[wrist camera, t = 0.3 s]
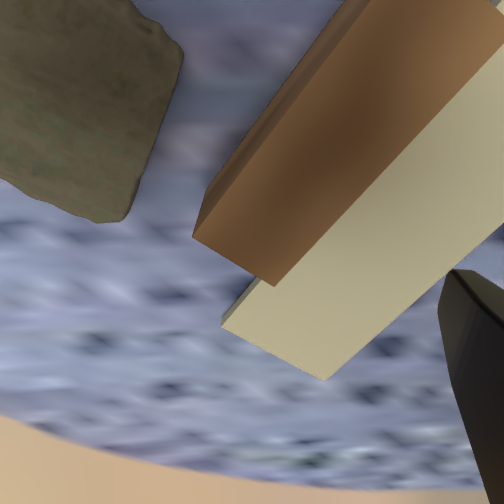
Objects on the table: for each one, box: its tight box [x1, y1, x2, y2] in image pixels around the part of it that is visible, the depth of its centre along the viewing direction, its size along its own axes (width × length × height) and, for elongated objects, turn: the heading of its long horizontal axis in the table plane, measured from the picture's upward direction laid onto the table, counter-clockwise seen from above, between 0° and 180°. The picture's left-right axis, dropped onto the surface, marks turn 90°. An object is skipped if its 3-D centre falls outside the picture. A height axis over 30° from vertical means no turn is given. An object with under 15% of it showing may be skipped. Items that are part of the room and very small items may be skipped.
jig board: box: [221, 0, 504, 382], centre depth 21 cm, size 7×26×1 cm, turn 146°
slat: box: [192, 0, 504, 287], centre depth 18 cm, size 4×12×4 cm, turn 145°
